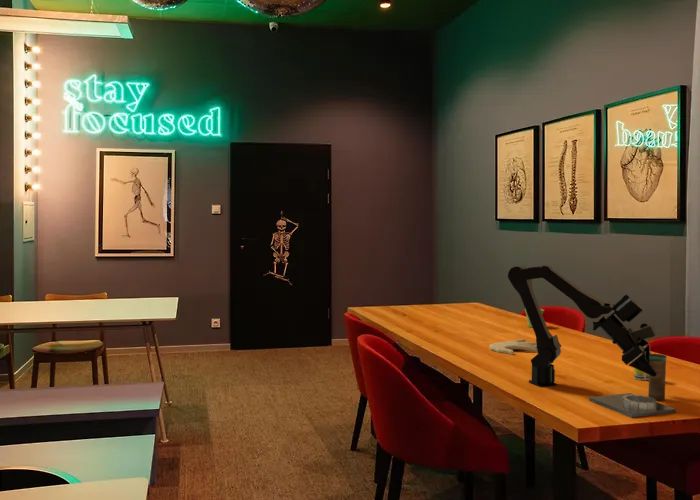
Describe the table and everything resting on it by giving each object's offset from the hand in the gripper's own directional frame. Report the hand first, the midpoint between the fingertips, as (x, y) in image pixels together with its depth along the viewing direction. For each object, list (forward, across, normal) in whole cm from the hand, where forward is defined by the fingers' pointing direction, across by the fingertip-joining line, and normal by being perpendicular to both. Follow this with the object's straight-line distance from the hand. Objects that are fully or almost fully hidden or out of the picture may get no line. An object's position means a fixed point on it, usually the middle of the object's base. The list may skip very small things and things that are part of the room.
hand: (657, 372), depth 190 cm
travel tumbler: (+6, 0, +6) cm, 8 cm away
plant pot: (-40, +110, +51) cm, 128 cm away
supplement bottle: (+1, +24, +10) cm, 26 cm away
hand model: (-34, +48, +45) cm, 74 cm away
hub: (+2, -12, +9) cm, 16 cm away
